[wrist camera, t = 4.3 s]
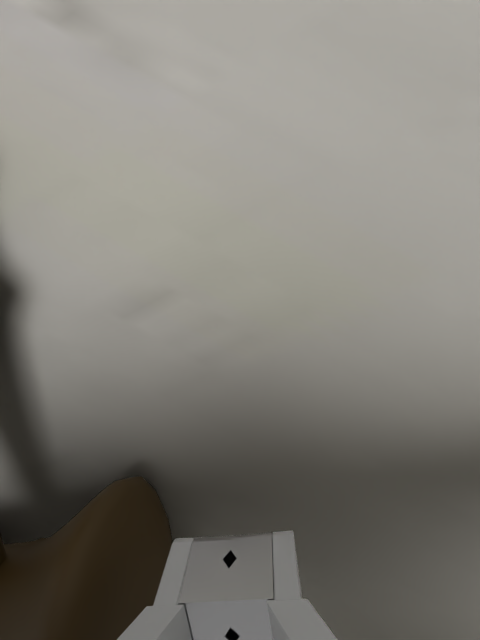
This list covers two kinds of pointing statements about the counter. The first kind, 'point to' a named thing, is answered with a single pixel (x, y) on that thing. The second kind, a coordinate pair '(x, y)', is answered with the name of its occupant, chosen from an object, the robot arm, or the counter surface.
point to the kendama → (87, 569)
